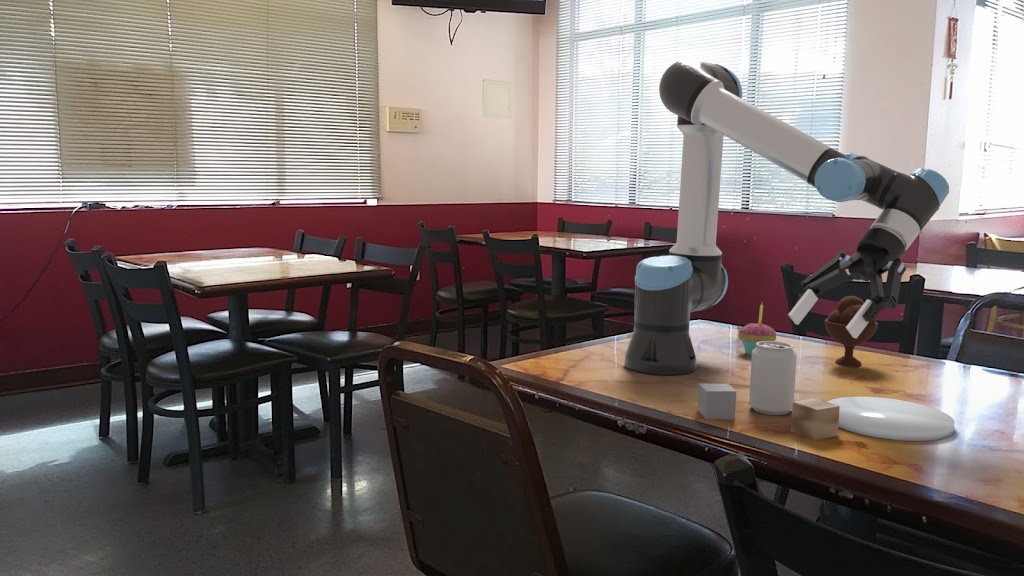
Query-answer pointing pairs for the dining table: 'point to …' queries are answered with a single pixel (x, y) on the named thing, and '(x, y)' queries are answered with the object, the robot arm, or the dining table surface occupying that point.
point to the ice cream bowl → (840, 334)
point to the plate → (893, 419)
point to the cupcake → (755, 334)
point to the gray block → (717, 401)
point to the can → (772, 377)
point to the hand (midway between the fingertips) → (820, 326)
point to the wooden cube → (815, 418)
